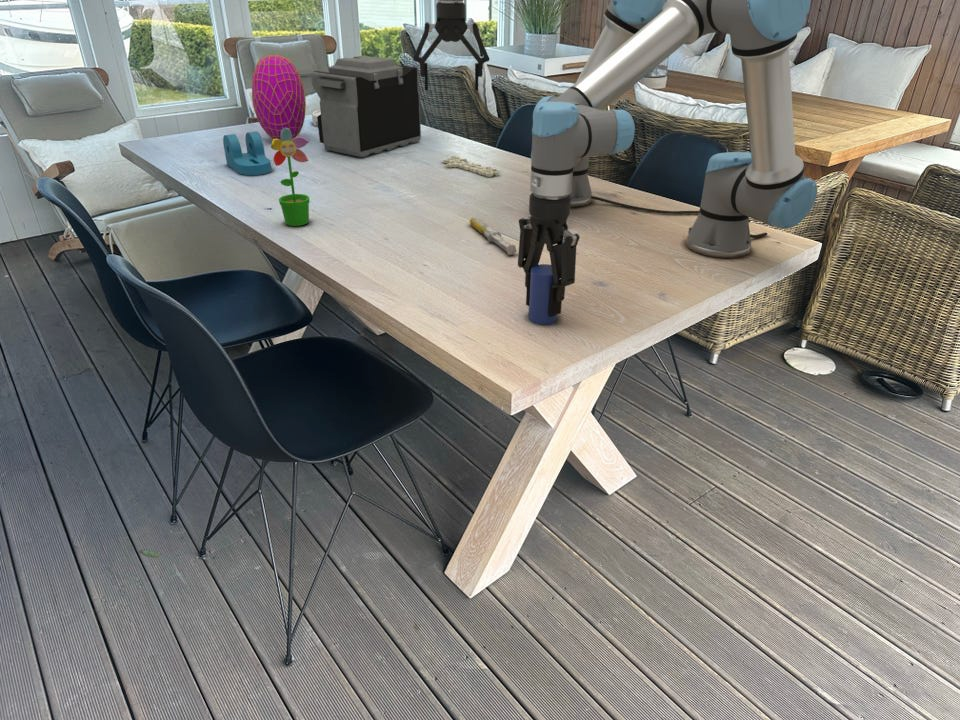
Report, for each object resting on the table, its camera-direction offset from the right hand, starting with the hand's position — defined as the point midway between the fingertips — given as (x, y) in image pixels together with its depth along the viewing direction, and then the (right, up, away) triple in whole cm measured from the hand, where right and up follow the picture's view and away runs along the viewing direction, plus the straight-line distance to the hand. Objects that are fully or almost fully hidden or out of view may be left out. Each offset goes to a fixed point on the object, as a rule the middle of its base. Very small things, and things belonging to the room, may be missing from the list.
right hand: (543, 308), depth 136 cm
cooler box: (-53, +70, +122) cm, 151 cm away
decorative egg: (-88, +75, +129) cm, 173 cm away
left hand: (-20, +63, +51) cm, 84 cm away
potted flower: (-61, +27, +48) cm, 82 cm away
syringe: (-10, +20, +39) cm, 45 cm away
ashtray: (-72, +91, +157) cm, 195 cm away
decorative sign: (-17, +55, +97) cm, 112 cm away
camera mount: (-89, +54, +93) cm, 140 cm away
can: (0, -2, +1) cm, 2 cm away
